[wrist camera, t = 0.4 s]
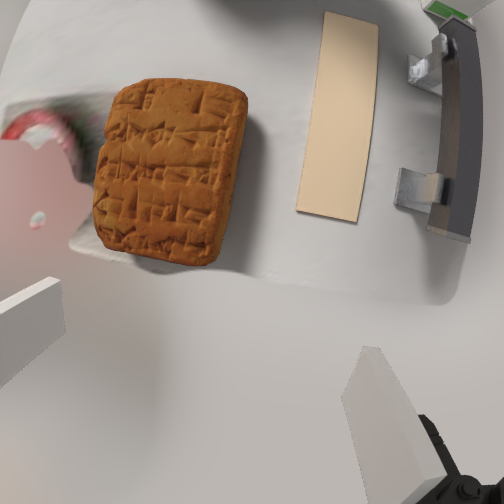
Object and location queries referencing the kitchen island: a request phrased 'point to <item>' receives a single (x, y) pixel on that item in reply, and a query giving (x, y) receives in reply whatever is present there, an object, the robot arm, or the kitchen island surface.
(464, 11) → the skincare box
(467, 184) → the rail
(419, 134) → the kitchen island surface
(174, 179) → the inscribed clay slab
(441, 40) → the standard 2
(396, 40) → the kitchen island surface
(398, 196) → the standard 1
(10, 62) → the kitchen island surface
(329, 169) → the mat
